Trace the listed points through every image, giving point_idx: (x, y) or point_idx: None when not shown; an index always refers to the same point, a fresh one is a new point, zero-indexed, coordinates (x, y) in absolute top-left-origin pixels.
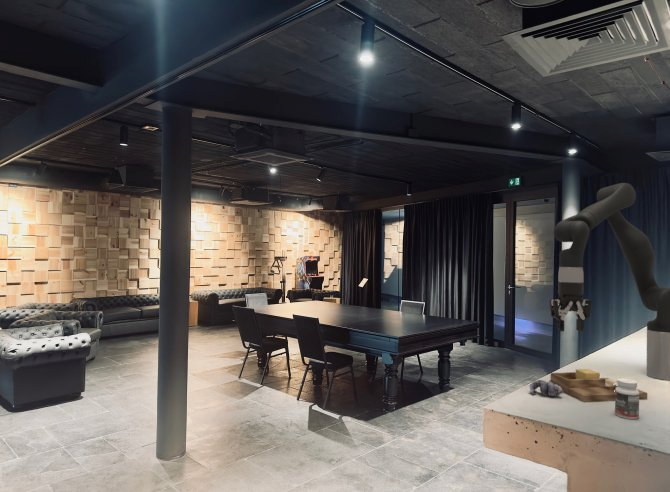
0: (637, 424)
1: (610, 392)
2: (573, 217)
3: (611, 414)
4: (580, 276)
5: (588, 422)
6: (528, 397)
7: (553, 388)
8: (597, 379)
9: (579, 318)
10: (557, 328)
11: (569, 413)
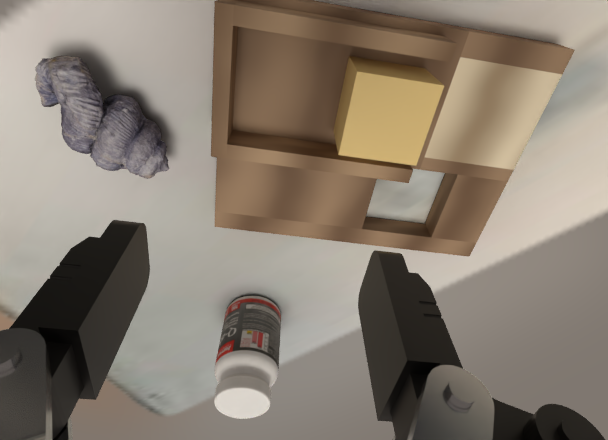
0: None
1: (346, 223)
2: None
3: (220, 298)
4: None
5: None
6: (21, 115)
7: (112, 170)
8: (368, 176)
9: (402, 415)
10: (83, 242)
11: None
